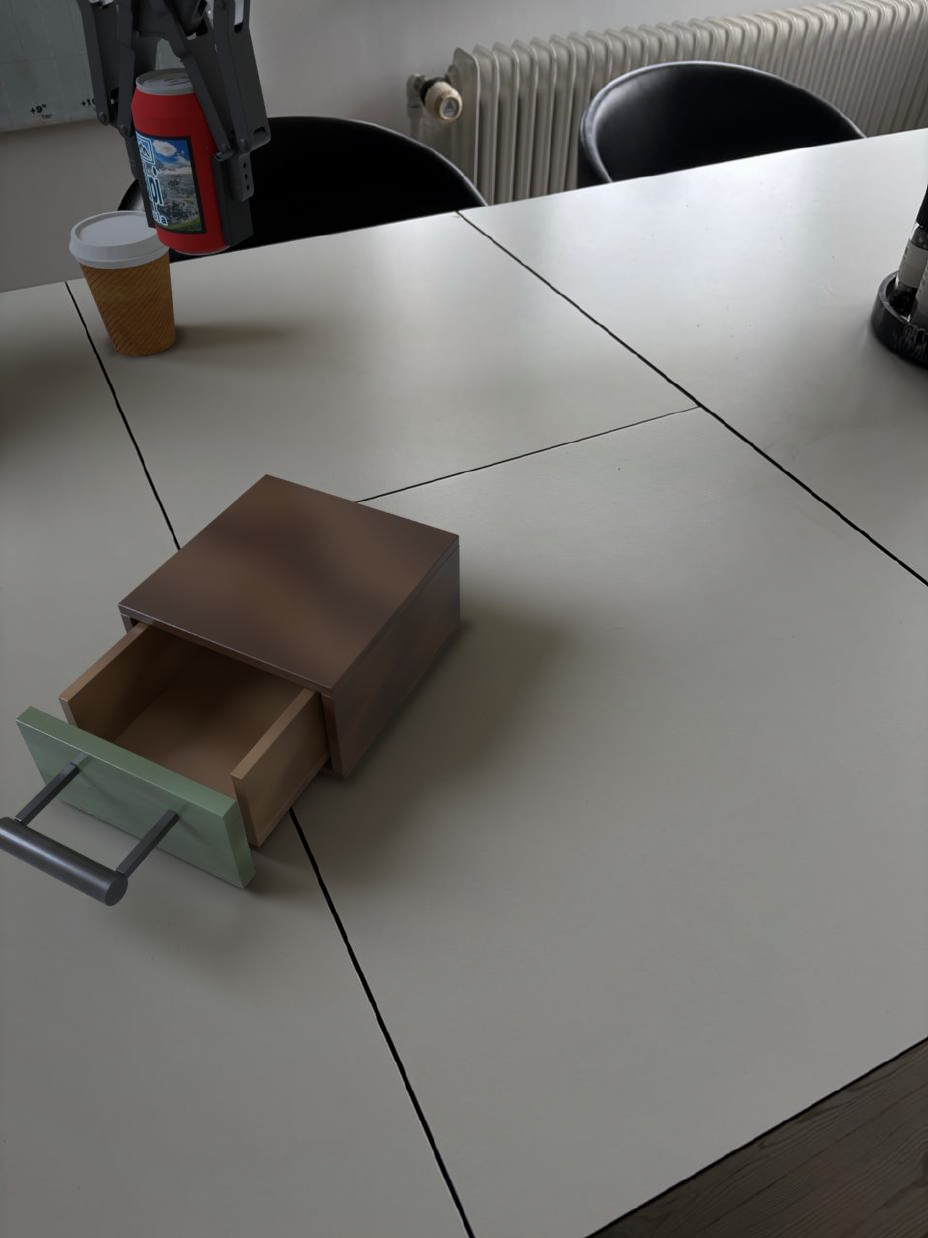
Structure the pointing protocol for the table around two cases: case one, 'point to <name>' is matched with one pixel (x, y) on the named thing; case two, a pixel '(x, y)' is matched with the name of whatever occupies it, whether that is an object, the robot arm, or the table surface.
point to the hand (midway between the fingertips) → (200, 230)
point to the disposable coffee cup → (127, 279)
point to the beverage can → (177, 162)
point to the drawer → (169, 759)
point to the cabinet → (314, 601)
